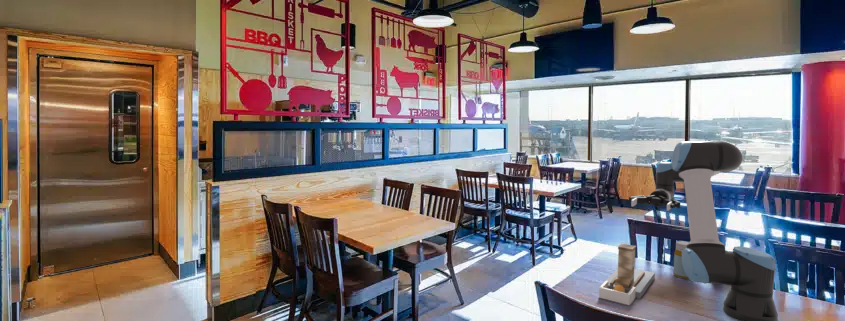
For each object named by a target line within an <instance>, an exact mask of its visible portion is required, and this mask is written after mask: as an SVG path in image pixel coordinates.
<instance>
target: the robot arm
mask: <svg viewBox="0 0 845 321" xmlns="http://www.w3.org/2000/svg"><path fill="white" fill-rule="evenodd" d="M742 163H743V154H742V151H741V150H740V149H739V148H738V147H737V146H736V145H735V144H732V143H730V142H727V141H720V140H719V141H718V140H717V141H715V140H713V141H709V140H708V141H707V140H705V141H704V140H703V141H700V140H699V141H698V140H687V141H680V142H678V143H676V145H675V146H674V149H673V152H672V157H671V161H660V162H659V161H658V162H657V164H656V171H655V173H656V174H655V176H656V177H655V189H654V191H652V192H651V193H650V194H649V195H644V194H640V195H633V196H629V197H628V203H630V204H631V206H630V207H635V206H636V205H637V204H651V205H653V207H657V208H658V207H659V208H661V207H664V206H666V212H667V211H668V212H669V211H670V210H671V209H676V208H677V209H681V202H680V201H679V200H677V199H676V198H674V196H675V189H674V185H675V183H684V194H685V199H686V200H685V201H686V209H687V211H686V212H687V220H688V225H689V226H688V227H689V235H690V236H689V237H690V241H688V242H689V243H688V244H687V248H686V249H684V250H683V251H682V265H683V268H684V271H685V273H686V275H687V276H688V278H689V279H688V280H690V281H692V282H694V283H701V284H704V285H705V284H713V285H725V286H727V285H728V286H730V289H729V292H728V293H727V295H726V297H725V299H724V301H723V304H722V305H723V306H722V309H723V311H724V313H726V314H727V315H729V316H730V317H732V318H735V319H737V320H740V321H777V320H778V318H779V317H778V316H779V313H778V310H777V306H776V304H775V301H774V297H773V295H774V284H775V274H776V271H777V270H776V260H775V258H774V257H773V256H772V254H769V253H767V252H765V251H762V250H759V249H756V248H752V247H748V246H746V247H745V246H738V245H737V246H734V247H733V248H732V251H728V250H726V245H725V244H724V242H721V241H720V239H719V232H718V226H717V224H718V223H717V219H716V218H717V216H716V210H715V204H714V203H715V202H714V196H713V187H712V180H711V179H712V177H713V176H716V175H718V174H721V173H730V172H732V171H735V170H737V169H738V168H740V166H741V165H742Z"/></svg>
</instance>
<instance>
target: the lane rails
mask: <svg viewBox="0 0 845 321" xmlns="http://www.w3.org/2000/svg"><path fill="white" fill-rule="evenodd" d="M644 275H645V272H642V273H641V274H640V276H639V277H638V278H637V279H636V280H635V282H634V283H633V284H632V285H631V287H630V290H631V289H632V287H635V286H636V285H637V284H638V283H639V281H640V280H641V279H642V277H643V276H644ZM617 277H618V275H617V276H616V277H615V278H614V279H613V280H612V281H611V282H610V286H612V285H613V284H614V283H615V279H616V278H617Z"/></svg>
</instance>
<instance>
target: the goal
mask: <svg viewBox="0 0 845 321" xmlns="http://www.w3.org/2000/svg"><path fill="white" fill-rule="evenodd" d="M604 281H605V280H604ZM604 281H603V282H604ZM603 282H602V283H603ZM602 283H601V285H600V286H599V287H598V299H600V300H604V301H608V302H610V303H611V302H612V303H616V304H619V305H623V306H627V307H631V305H632V303H633V302H634V301H635V300H636V299H637V298H636V297H635V295H636V287H632V289H631V290H630V291H629V292H628V293H624V292H620V291H616V290H612V289H608V284H609V281H605V282H604V283H603V284H602Z"/></svg>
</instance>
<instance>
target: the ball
mask: <svg viewBox="0 0 845 321" xmlns="http://www.w3.org/2000/svg"><path fill="white" fill-rule="evenodd" d="M614 290H616V291H620V292H624V293H625V289H624V287H623V286H621V285H616V286H615V287H614Z"/></svg>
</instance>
